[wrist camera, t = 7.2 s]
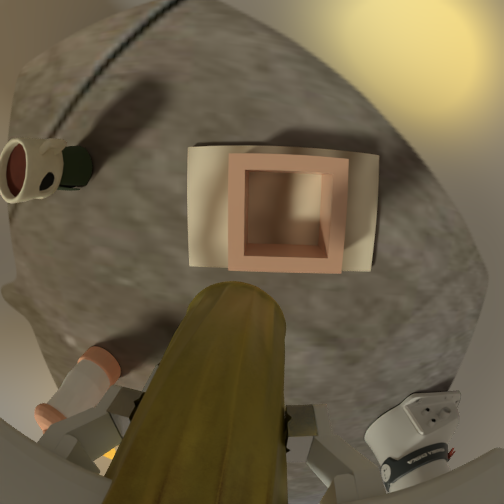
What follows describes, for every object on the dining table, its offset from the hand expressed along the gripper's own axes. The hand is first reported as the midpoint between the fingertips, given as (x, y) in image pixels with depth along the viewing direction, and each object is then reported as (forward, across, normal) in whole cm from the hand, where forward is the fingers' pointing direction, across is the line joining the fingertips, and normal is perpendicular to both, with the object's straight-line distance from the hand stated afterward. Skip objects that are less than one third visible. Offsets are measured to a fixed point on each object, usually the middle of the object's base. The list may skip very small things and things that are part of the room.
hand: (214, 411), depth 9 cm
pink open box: (+23, -4, -5) cm, 24 cm away
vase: (+8, 0, 0) cm, 8 cm away
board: (+24, -4, -5) cm, 25 cm away
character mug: (+24, +24, -12) cm, 36 cm away
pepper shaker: (+24, +26, +20) cm, 41 cm away
